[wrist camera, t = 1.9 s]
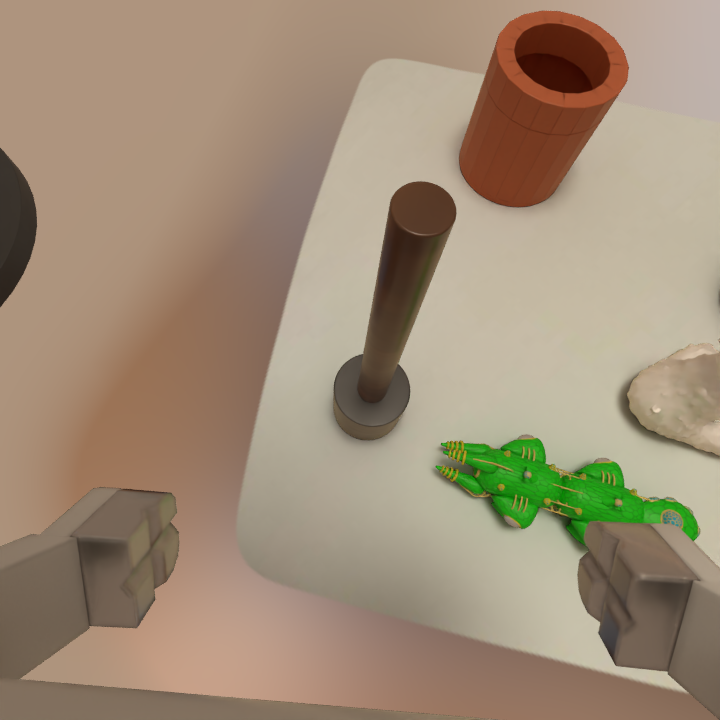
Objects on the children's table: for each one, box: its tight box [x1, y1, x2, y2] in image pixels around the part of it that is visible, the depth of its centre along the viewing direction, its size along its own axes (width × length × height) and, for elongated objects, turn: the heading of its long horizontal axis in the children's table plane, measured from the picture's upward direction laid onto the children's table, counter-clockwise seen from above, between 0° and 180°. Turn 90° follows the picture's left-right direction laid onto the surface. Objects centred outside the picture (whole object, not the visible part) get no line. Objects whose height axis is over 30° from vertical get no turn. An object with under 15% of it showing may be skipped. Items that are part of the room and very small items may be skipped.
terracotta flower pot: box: [459, 11, 629, 207], centre depth 40 cm, size 10×10×11 cm
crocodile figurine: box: [436, 435, 700, 549], centre depth 33 cm, size 7×18×4 cm, turn 73°
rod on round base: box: [334, 182, 456, 440], centre depth 25 cm, size 5×5×24 cm
